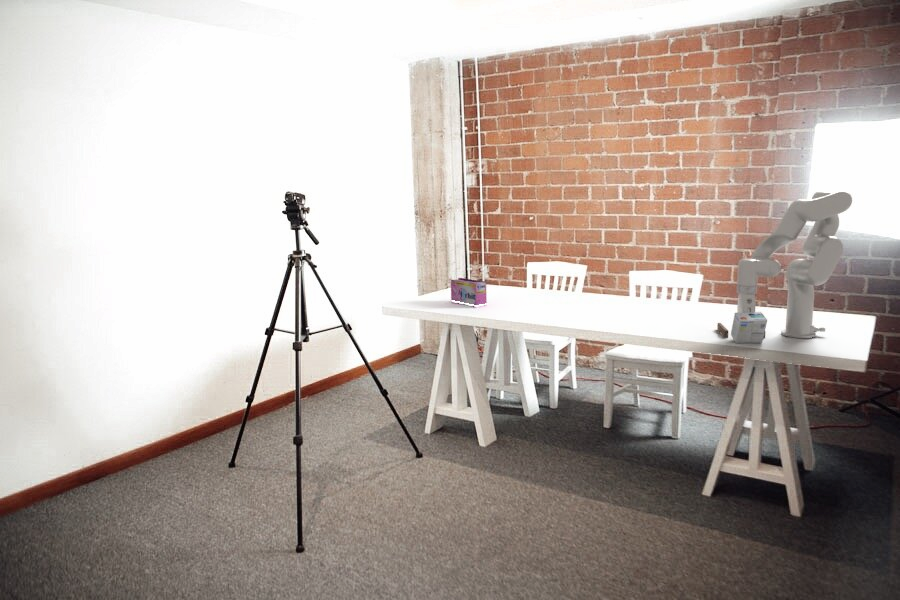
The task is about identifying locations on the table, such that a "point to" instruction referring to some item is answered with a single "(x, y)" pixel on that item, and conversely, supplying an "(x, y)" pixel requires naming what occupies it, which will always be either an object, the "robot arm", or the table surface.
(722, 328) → the walnut chute
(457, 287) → the gum box
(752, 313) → the light bulb box
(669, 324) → the table surface
